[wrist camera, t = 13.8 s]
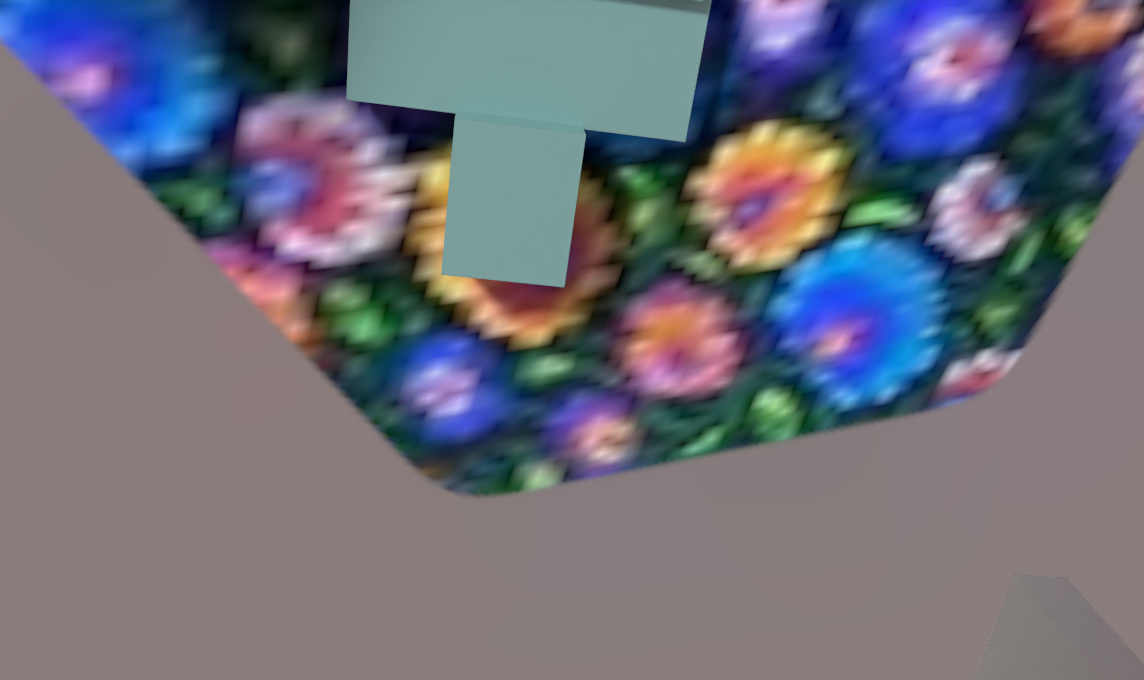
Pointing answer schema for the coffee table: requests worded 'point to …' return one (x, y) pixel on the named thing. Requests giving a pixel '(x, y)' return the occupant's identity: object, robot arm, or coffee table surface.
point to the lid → (526, 106)
